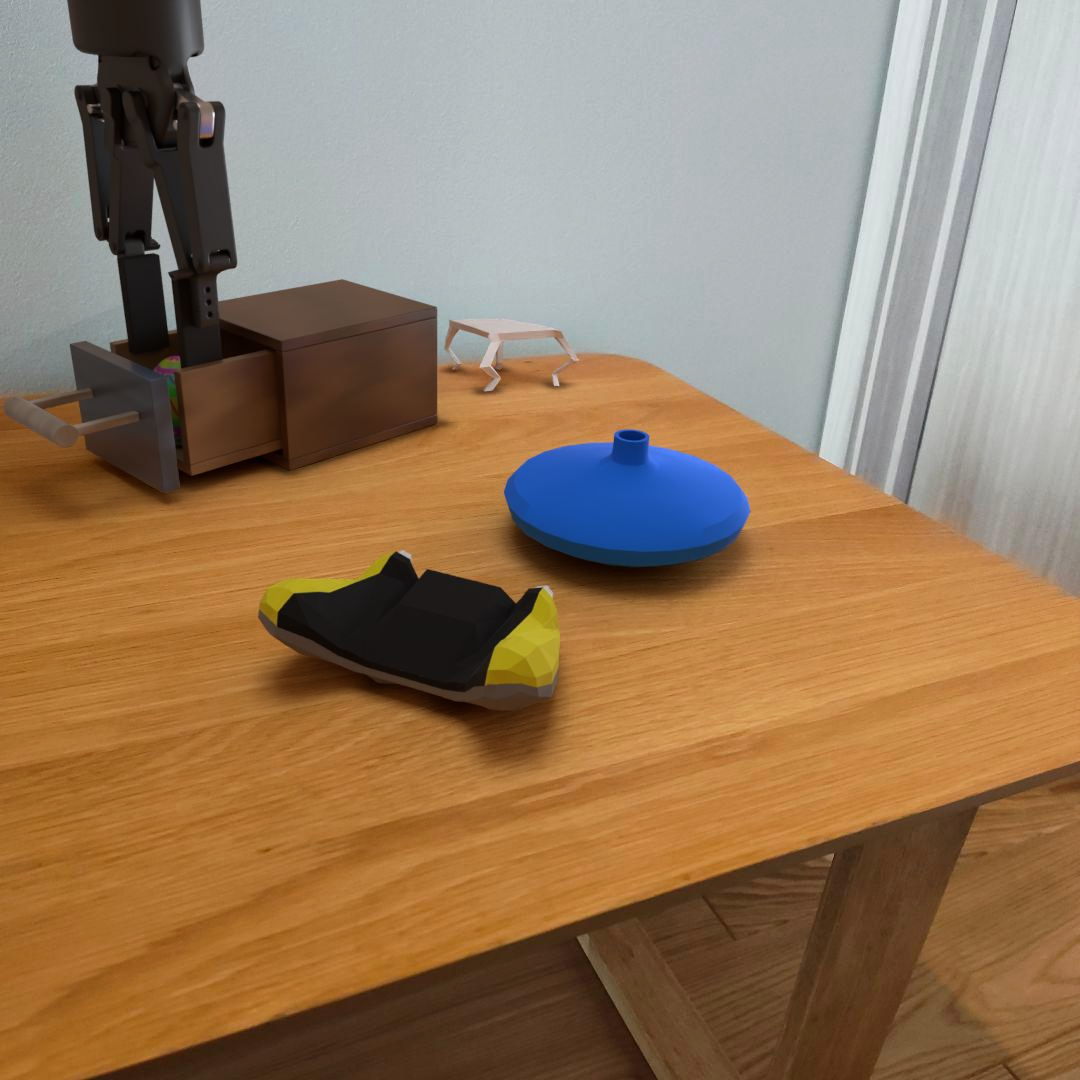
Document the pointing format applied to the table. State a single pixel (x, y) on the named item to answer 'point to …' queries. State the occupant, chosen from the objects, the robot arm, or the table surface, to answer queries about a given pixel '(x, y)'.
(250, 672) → the table surface
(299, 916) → the table surface
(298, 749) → the table surface
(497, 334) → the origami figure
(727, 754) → the table surface
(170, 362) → the egg
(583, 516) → the vase
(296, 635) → the black and yellow shoe
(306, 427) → the cabinet
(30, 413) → the drawer
